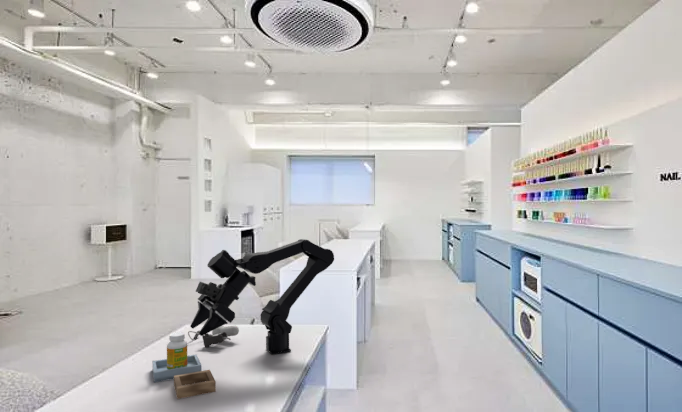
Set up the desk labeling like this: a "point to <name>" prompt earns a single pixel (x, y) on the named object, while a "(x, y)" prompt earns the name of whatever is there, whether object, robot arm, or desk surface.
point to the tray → (163, 374)
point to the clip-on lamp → (217, 335)
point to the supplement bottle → (176, 351)
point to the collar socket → (190, 387)
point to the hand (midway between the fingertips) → (195, 331)
